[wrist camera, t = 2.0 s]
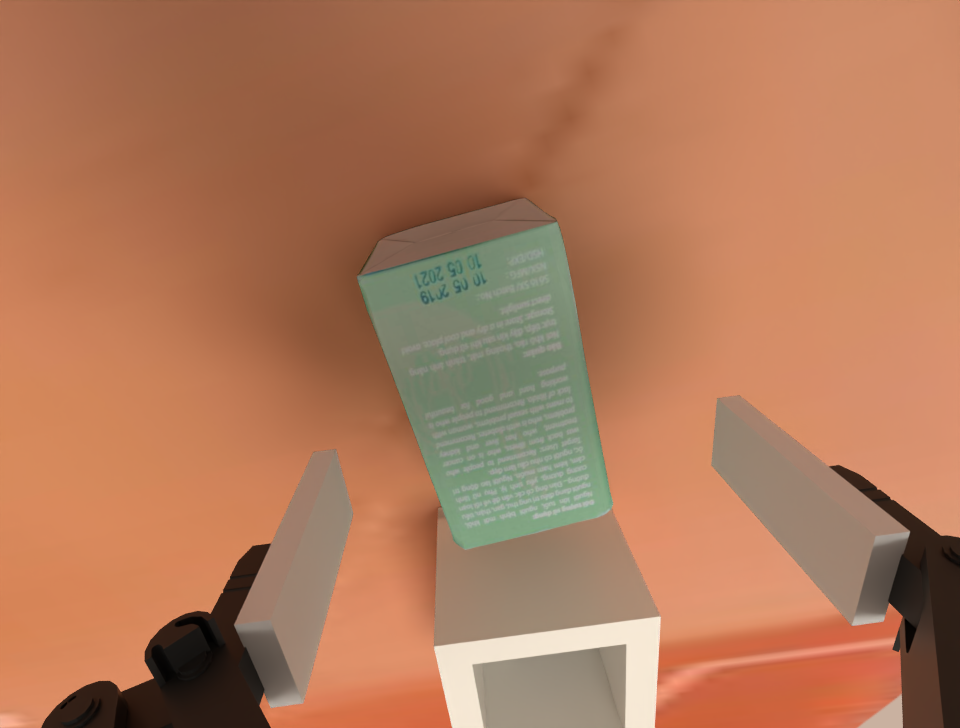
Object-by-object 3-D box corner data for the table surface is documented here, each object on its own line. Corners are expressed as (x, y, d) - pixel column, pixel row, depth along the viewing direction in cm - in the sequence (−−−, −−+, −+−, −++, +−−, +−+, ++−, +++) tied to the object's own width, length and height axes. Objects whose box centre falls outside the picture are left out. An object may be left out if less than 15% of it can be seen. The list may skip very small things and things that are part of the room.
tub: (438, 507, 29) (433, 646, 21) (601, 486, 29) (660, 616, 21) (459, 621, 33) (463, 775, 25) (602, 602, 33) (653, 749, 25)
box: (456, 465, 28) (459, 564, 21) (375, 238, 23) (346, 273, 16) (578, 432, 28) (621, 522, 21) (525, 194, 23) (561, 211, 16)
